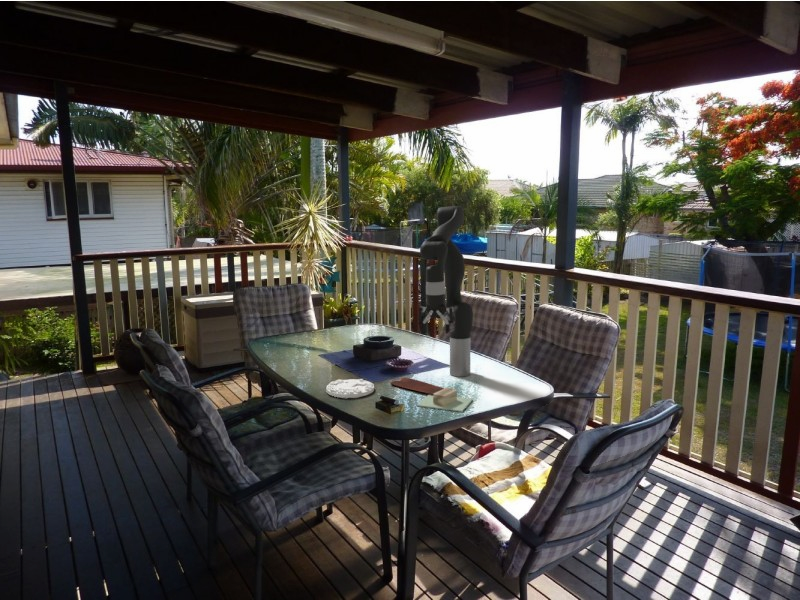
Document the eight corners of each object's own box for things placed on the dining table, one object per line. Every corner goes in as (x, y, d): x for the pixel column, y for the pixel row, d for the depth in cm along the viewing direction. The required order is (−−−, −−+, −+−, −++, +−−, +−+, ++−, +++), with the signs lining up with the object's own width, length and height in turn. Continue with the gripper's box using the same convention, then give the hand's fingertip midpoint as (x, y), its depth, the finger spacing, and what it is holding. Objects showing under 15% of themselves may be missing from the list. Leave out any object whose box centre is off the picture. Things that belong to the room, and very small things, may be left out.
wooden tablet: (388, 385, 249) (388, 381, 249) (404, 379, 256) (404, 376, 256) (434, 397, 231) (434, 393, 231) (451, 391, 238) (450, 387, 237)
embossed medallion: (383, 391, 243) (383, 384, 242) (347, 403, 229) (347, 396, 229) (353, 381, 257) (353, 375, 256) (316, 391, 243) (316, 385, 243)
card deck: (433, 403, 224) (433, 393, 223) (446, 397, 231) (446, 387, 230) (444, 406, 221) (444, 396, 220) (456, 399, 228) (456, 390, 227)
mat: (429, 395, 235) (429, 393, 235) (472, 400, 229) (472, 398, 228) (417, 406, 223) (417, 405, 223) (462, 412, 216) (462, 410, 216)
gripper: (415, 294, 227) (417, 334, 230) (450, 294, 222) (451, 335, 225) (421, 290, 234) (423, 329, 237) (455, 291, 229) (456, 331, 232)
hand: (437, 332), depth 231 cm, fingers open, 8 cm apart
